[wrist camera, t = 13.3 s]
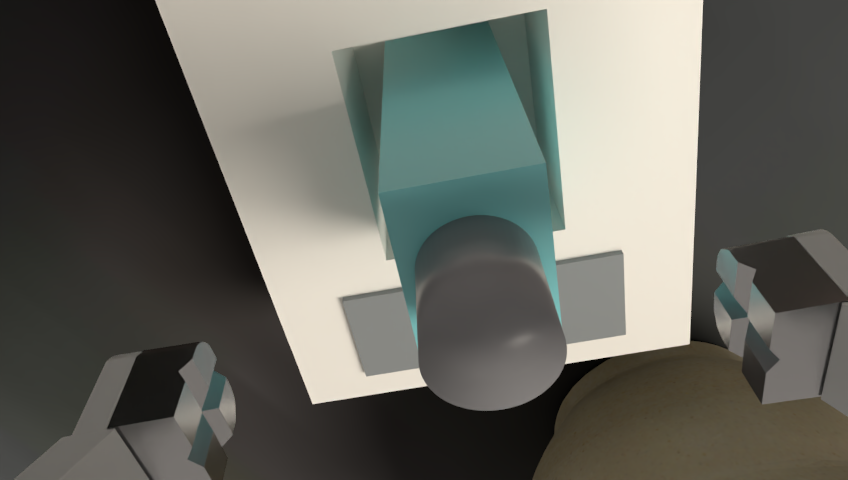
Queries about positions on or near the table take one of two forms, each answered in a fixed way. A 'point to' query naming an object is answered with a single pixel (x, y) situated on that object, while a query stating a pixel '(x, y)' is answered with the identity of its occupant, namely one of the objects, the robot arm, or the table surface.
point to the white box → (360, 153)
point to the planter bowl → (689, 424)
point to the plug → (469, 220)
